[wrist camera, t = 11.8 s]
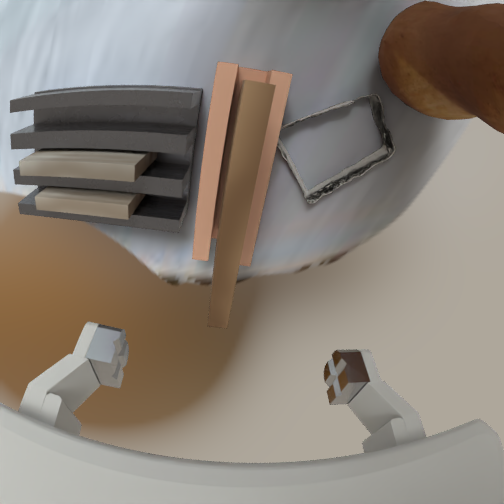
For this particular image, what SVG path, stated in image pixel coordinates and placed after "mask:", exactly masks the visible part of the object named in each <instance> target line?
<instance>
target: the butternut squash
mask: <svg viewBox="0 0 504 504" xmlns="http://www.w3.org/2000/svg"><path fill="white" fill-rule="evenodd" d="M378 58H379V64H380V69H381V73H382V78H383V79H384V81H385V82H386V84H387V85H388V87H389V89H390V90H391V92H392V93H393V94H394V95H395V96H397V97H398V98H399V99H400V100H401V101H403V102H404V103H405V104H406V105H408V106H409V107H411V108H413V109H415V110H417V111H418V112H420V113H423V114H425V115H428V116H431V117H435V118H441V119H446V120H456V119H469V118H474V117H478V118H480V119H481V120H483V121H484V122H485V123H487V124H488V125H489V126H491V127H492V128H494V129H495V130H497V131H499V132H501V133H503V134H504V4H500V3H494V4H484V5H478V6H467V7H454V6H448V5H444V4H441V3H437V2H429V1H423V2H420V3H417V4H414V5H412V6H410V7H408V8H406V9H405V10H404V11H402V12H401V13H399V14H398V15H397V16H396V17H395V18H394V19H393V21H392V22H391V23H390V25H389V26H388V28H387V29H386V31H385V34H384V36H383V38H382V40H381V43H380V47H379V53H378Z"/></svg>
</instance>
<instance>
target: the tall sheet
mask: <svg viewBox="0 0 504 504" xmlns="http://www.w3.org/2000/svg"><path fill="white" fill-rule="evenodd" d="M275 87H276V85H273V84H268V83H262V82H257V81H251V80H243V82H242V87H241V92H240V97H239V103H238V108H237V114H236V119H235V125H234V131H233V137H232V142H231V148H230V154H229V160H228V167H227V173H226V179H225V186H224V192H223V199H222V206H221V212H220V219H219V226H218V234H217V242H216V251H215V259H214V268H213V277H212V287H211V296H210V306H209V316H208V326H209V327H218V328H226V329H227V327H228V322H229V317H230V312H231V306H232V301H233V296H234V291H235V285H236V280H237V275H238V270H239V265H240V260H241V254H242V249H243V244H244V239H245V234H246V229H247V224H248V219H249V214H250V209H251V204H252V199H253V194H254V189H255V184H256V179H257V174H258V169H259V164H260V159H261V154H262V149H263V145H264V140H265V135H266V130H267V125H268V120H269V116H270V111H271V106H272V101H273V96H274V92H275Z"/></svg>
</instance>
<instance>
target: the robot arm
mask: <svg viewBox="0 0 504 504" xmlns="http://www.w3.org/2000/svg"><path fill="white" fill-rule="evenodd" d="M125 337H126V334H125V330H124V329H119V328H114V327H110V326H105V325H101V324H97V323H92V322H87V323H86V325H85V326H84V329H83V331H82V333H81V335H80V338H79V340H78V342H77V345H76V347H75V350H74V352H73V355H72V354H69V355H67V356H66V357H64V358H63V359H61V360H60V361H59V362H57V363H56V364H55V365H53V366H52V367H51V368H49V369H48V370H46V371H45V372H44V373H42V374H41V375H40V376H38V377H37V378H36V379H34V380H33V381H31V382H30V383H29V384H28V387H27V389H26V392H25V394H24V397H23V400H22V402H21V405H20V408H19V411H16V410H14V409H12V408H10V407H8V406H6V405H4V404H2V403H0V504H504V450H503V447H502V443H501V441H500V438H499V436H498V434H497V433H496V432H495V431H494V430H493V429H492V428H491V427H490V426H489V425H488V424H487V423H485V422H484V421H482V420H480V419H476V420H473V421H471V422H468V423H465V424H463V425H460V426H458V427H455V428H452V429H450V430H447V431H444V432H441V433H438V434H436V435H432V436H429V437H426V435H425V431H424V428H423V425H422V422H421V419H420V416H419V413H418V412H417V411H416V410H415V409H414V408H413V407H412V406H411V405H409V404H408V403H407V402H406V401H405V400H404V399H403V398H402V397H401V396H400V395H399V394H398V393H397V392H395V391H394V390H393V389H392V388H391V387H390V386H389V385H388V384H387V383H386V382H385V381H381V379H380V376H379V373H378V370H377V367H376V364H375V361H374V359H373V356H372V353H371V352H370V350H357V349H356V350H336V351H334V353H333V354H332V358H333V359H331V360H329V361H328V362H327V363H326V365H325V368H324V380H325V383H326V384H327V385H328V386H329V388H328V390H327V394H328V399H329V403H330V405H333V404H334V405H336V404H348V406H349V407H350V409H351V410H352V411H353V412H354V414H355V415H356V416H357V417H358V419H359V420H360V421H361V422H362V423H363V425H364V426H365V427H366V428H367V430H368V431H369V432H370V433H371V436H370V437H368V438H367V439H365V440H364V441H363V443H362V444H363V449H364V453H362V454H356V455H349V456H344V457H336V458H329V459H320V460H310V461H299V462H281V463H232V462H231V463H230V462H214V461H213V462H212V461H201V460H192V459H183V458H175V457H168V456H162V455H156V454H150V453H145V452H140V451H135V450H130V449H125V448H122V447H118V446H114V445H110V444H106V443H102V442H99V441H95V440H92V439H88V438H85V437H82V436H79V434H80V430H81V423H80V421H79V420H78V419H77V418H76V417H75V415H74V414H73V412H74V411H75V410H76V409H77V408H78V407H79V406H80V405H81V404H82V403H83V402H84V401H85V400H86V399H87V398H88V397H89V396H90V395H91V394H92V393H93V392H94V391H95V390H96V389H97V388H98V387H99V386H100V384H102V385H106V386H111V387H116V388H120V386H121V383H122V379H123V375H124V374H123V371H122V368H123V367H124V366H125V365H126V364H127V360H128V352H129V349H128V343H127V341H126V340H125Z"/></svg>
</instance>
